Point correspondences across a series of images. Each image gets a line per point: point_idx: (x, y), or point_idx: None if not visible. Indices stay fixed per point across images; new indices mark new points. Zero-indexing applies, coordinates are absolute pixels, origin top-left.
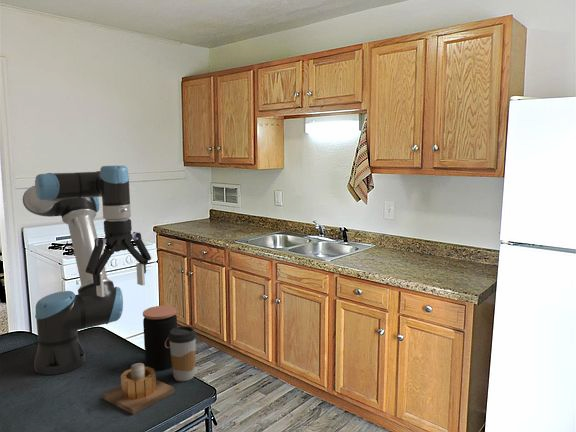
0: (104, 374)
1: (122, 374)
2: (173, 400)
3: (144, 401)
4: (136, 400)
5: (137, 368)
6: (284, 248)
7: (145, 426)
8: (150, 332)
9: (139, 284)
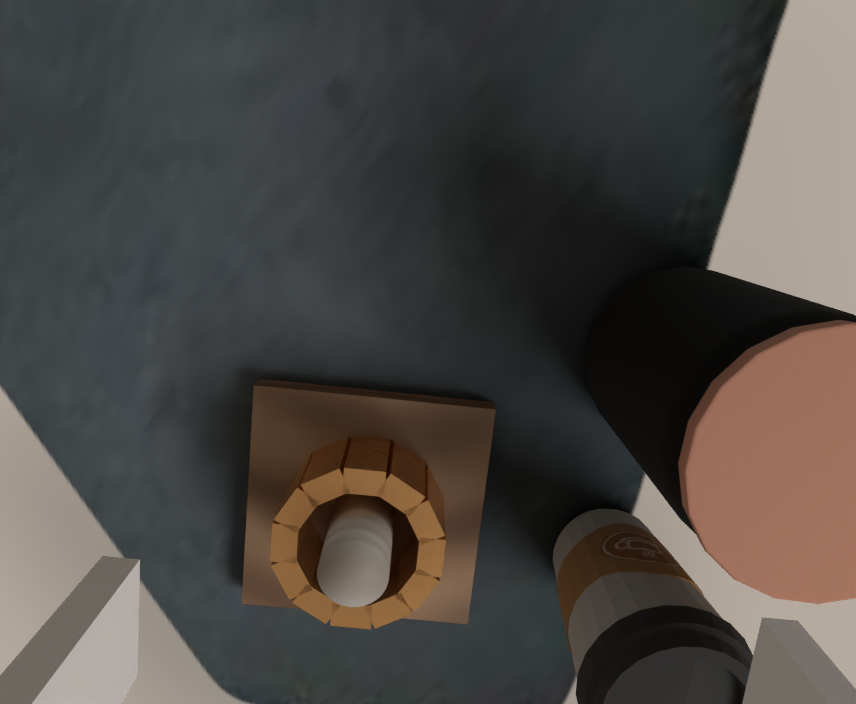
0: (423, 174)
1: (311, 484)
2: (414, 648)
3: None
4: None
5: (331, 596)
6: None
7: (221, 683)
8: (642, 444)
9: (753, 663)
